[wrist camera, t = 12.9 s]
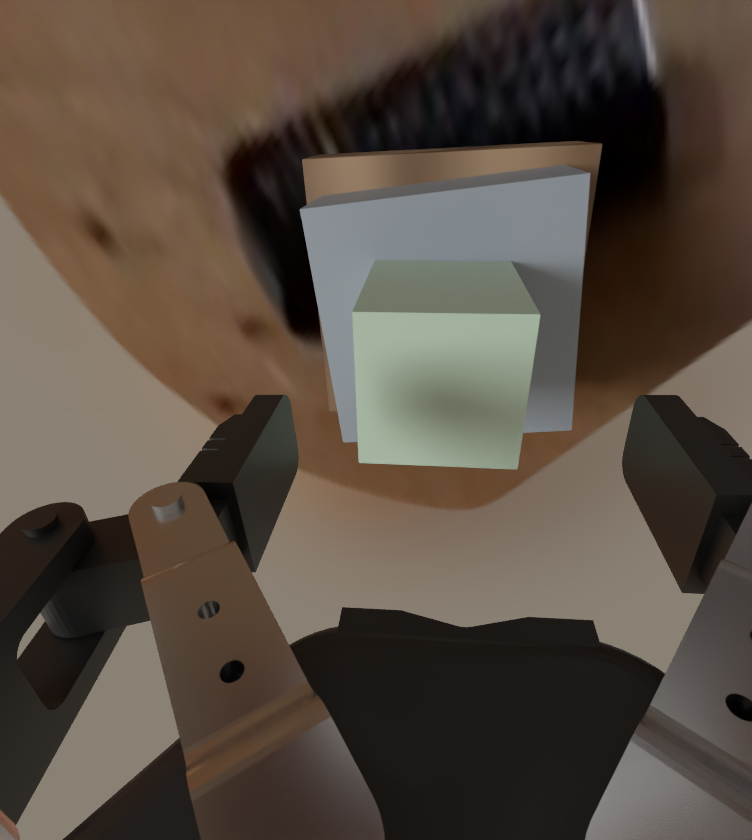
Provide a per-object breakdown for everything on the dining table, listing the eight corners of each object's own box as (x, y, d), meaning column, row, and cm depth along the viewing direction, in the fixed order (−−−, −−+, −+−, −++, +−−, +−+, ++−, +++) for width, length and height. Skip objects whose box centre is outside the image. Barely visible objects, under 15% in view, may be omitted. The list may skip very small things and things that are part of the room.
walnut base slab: (574, 140, 24) (602, 143, 20) (545, 374, 30) (561, 412, 26) (322, 153, 25) (302, 159, 21) (342, 375, 31) (329, 411, 27)
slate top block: (564, 164, 20) (590, 172, 17) (552, 388, 25) (571, 430, 22) (321, 195, 22) (299, 209, 18) (355, 401, 27) (343, 442, 23)
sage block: (511, 261, 19) (540, 314, 13) (497, 384, 21) (517, 469, 16) (374, 260, 19) (352, 312, 14) (376, 381, 21) (358, 462, 16)
